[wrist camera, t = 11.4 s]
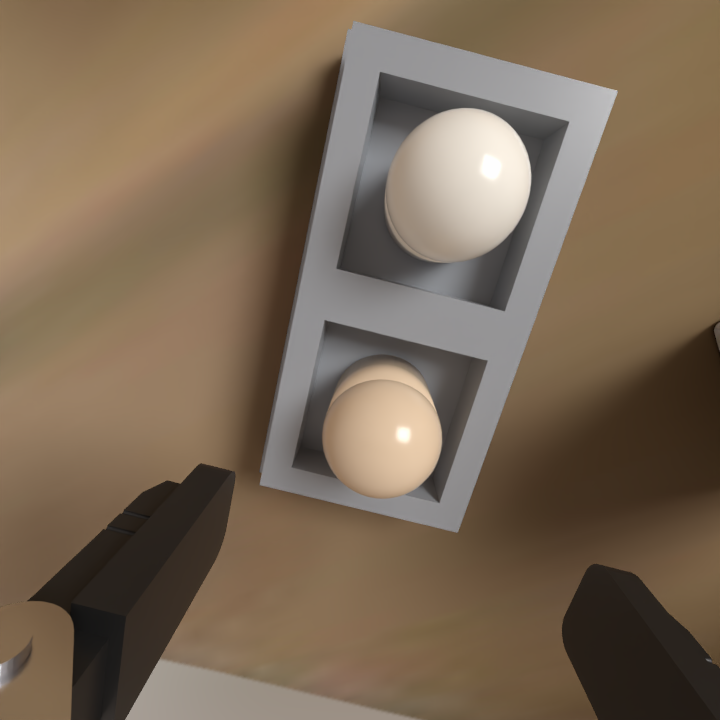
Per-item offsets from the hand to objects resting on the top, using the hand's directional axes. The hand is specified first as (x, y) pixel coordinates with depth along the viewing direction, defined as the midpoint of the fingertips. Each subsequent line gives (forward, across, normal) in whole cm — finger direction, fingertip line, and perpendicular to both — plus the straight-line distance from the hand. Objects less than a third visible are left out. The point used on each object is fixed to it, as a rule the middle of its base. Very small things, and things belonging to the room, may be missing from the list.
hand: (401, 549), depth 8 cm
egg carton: (+11, 0, -4) cm, 12 cm away
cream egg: (+10, 0, -9) cm, 13 cm away
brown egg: (+10, 0, 0) cm, 10 cm away
